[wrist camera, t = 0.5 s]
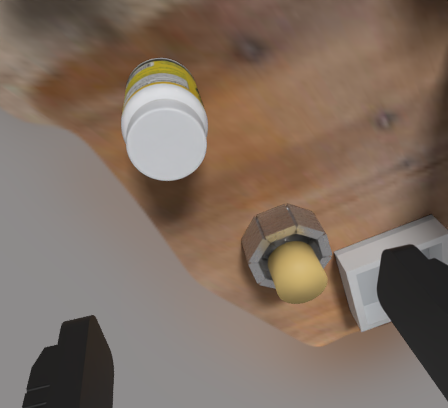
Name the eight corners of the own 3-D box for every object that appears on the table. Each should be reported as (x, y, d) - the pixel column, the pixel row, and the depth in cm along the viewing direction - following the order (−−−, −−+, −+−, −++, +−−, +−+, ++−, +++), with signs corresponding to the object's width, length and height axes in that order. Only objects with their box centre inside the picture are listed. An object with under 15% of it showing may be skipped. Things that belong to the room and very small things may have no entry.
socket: (308, 194, 33) (321, 214, 30) (324, 249, 37) (336, 271, 34) (233, 224, 33) (239, 246, 31) (256, 275, 37) (264, 298, 35)
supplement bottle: (191, 130, 28) (205, 192, 21) (124, 122, 27) (115, 185, 20) (202, 62, 25) (222, 107, 19) (128, 50, 24) (119, 94, 17)
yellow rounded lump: (308, 234, 31) (321, 259, 29) (318, 266, 34) (331, 292, 31) (261, 252, 32) (270, 278, 29) (274, 283, 34) (284, 310, 31)
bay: (431, 214, 36) (450, 232, 34) (435, 279, 42) (451, 299, 40) (333, 251, 37) (346, 272, 35) (350, 310, 43) (361, 332, 40)
